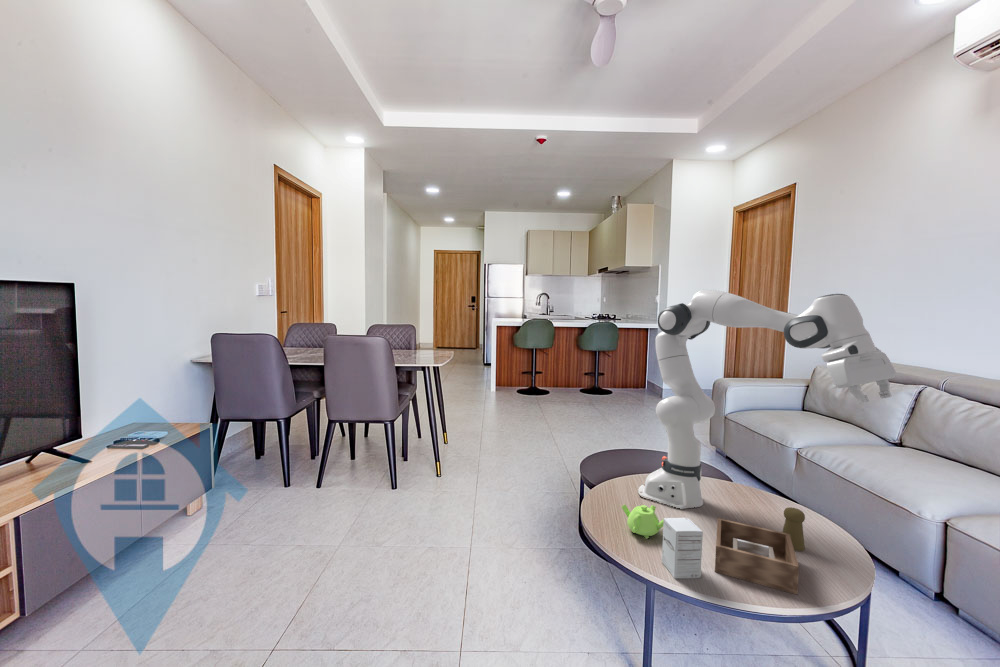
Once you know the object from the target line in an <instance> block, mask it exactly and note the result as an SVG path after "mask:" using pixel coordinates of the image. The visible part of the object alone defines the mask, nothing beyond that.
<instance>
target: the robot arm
mask: <svg viewBox="0 0 1000 667" xmlns="http://www.w3.org/2000/svg"><path fill="white" fill-rule="evenodd" d="M690 299H691V300H690V302H689V303H688V304H686V303H683V302H681V303H678V304H674V305H670V306H668V307H665V308H664V309H662V310H661V311H660V312H659V313H658V316H657V325H658V327H659V329H660V330H661V332H658V334H656V336H655V341H654V342H655V352H656V359H657V363H658V367H659V371H660V377H661V380H662V383H664V384H665V385H667V386H668V387H669V388H670V390H671V391H672V393H673V395H672V396H670V395H669V396H668V397H666V398H663V399H661V400H660V401H659V402H658V403H657V404H656V407H655V414H656V415H655V416H656V418H657V419H658V421H659V422H660V424H661V425H663V427H664V430H665V433H666V437H667V456H665V455H663V456H662V458H661V467H660V468H658V469H657V470H654V471H652V472H650V473H649V474H648V475H647V476H646V478H645V482H644V484H645V486H644V485H643V484H642V485H640V486H639V487H638V492H637V494H638V493H639V494H640V495H641V496H643V497H646V498H649V499H652V500H654V501H657V502H661V503H664V504H667V505H670V506H669V507H671V506H673V507H672V508H674V507H676V508H675V509H677V508H680V509H679V510H685V509H690V508H691V509H693V508H694V507H695V508H699V507H702V506H703V505H704V499H703V496H702V495H703V494H702V489H701V478H702V464H701V450H702V448H701V447H702V445H701V442H700V440H699V439H698V438H697V437H696V435H695V431H694V425H696V424H702V423H704V422H707V421H708V420H710V419H711V418H713V417H714V415H715V414H716V405H715V403H714V401H713V399H712V398H711V397H709V396H708V395H707V394H706V393H705V392H704V391H703V389H702V388H701V385H700V384H699V382H698V381H697V378H696V377H695V372H694V371H693V368H692V364H691V360H690V356H689V352H688V349H687V341H688V340H691V341H692V340H694V339H695V338H697V337H698V336H700V335H701V334H703V333H705V332H706V331H707V330H708V329H709V327H710V325H711V323H714V324H716V325H719V326H723V327H729V328H737V329H738V328H764V329H771V330H774V331H777V332H781V333H782V332H783V337H784V339H785V341H786V342H787V343H788V344H789V345H790V346H792V347H794V348H798V349H828V350H826V351H825V352H823V353H822V354H821V358H822V359H821V360H823V362H825V363H826V369H827V371H828V374H829V376H830V378H831V380H832V381H831V382H833V384H834V386H835V387H837V388H838V389H844V388H848V391H849V392H850V394H852V395H853V397H855V399H856V402H857V403H858V404H866V403H869V398H868V396H867V395H866V394H864V393H863V392H862V387H861V385H864V384H869V383H875V382H876V385H877V386H878V388H879V391H878V396H880V398H881V399H887V398H891V397H892V394H891V391H890V384H891V383H890V382H889V379H894V378H896V377H897V372H896V369H895V367H894V366H893V364H892V361H891V360H890V359H889V357H888V355H887V354H886V353H885V352H883V351H882V350H881V349H879V348H878V347H876V345H875V343H874V341H873V339H872V337H871V335H870V332H869V331H868V330H867V329H866V328H865V325H864V320H863V316H862V315H861V312H860V310H859V308H858V307H857V305H856V303H855V302H854V300H853V299H852V298H851V297H850V295H847V294H843V293H832V294H831V293H830V294H827V295H821V296H818V297H817V298H814V300H813V302H812V303H811V305H809V307H808V308H806V309H805V310H804V311H803V312H802V313H800V314H794V313H791V312H786V311H782V310H777V309H774V308H771V307H767V306H766V305H762V304H760V303H758V302H755V301H753V300H750V299H748V298H745V297H743V296H740V295H738V294H734V293H730V292H725V291H720V290H716V289H715V290H714V289H713V290H712V289H700V290H699V291H697V292H696V293H694V294H693V296H692V298H690ZM640 492H642V493H640ZM654 501H653V502H654ZM657 502H656V503H657ZM661 503H660V504H661ZM664 504H663V505H664ZM667 505H666V506H667Z"/></svg>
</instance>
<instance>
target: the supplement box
mask: <svg viewBox="0 0 1000 667" xmlns="http://www.w3.org/2000/svg"><path fill="white" fill-rule="evenodd" d="M663 519H664V524H663V527H662V528H663V529H662V545H661V546H662V547H661V563H662V564H663V566H664V567H665V568H666V569H667V570H668V572H669V573H670V574H671V576H672V577H673V578H674V579H700V578H701V576H702V575H701V574H702V571H701V570H702V558H703V556H702V554H703V553H702V552H703V537H704V536H703V535H704V532H703V530H702V529H701V528H700V527H699V526H698V525H696V523H694V522H693V521H692V520H691V519H690V518H689V517H664V518H663Z"/></svg>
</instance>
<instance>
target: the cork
mask: <svg viewBox="0 0 1000 667" xmlns="http://www.w3.org/2000/svg"><path fill="white" fill-rule="evenodd" d="M805 516H806V514H805V513H804V511H802V510H801V509H799V508H795V507H792V506H791V507H786V508H785V509H783V517H784V518H785V520H784V524H783V529H782V533H787V534H790V537H791V541H792V544H793V548H794V551H796V552H803V551H805V549H806V548H805V538H804V537H805V536H804V527H803V523H804V522H805V520H806V517H805Z"/></svg>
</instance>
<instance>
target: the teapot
mask: <svg viewBox="0 0 1000 667" xmlns="http://www.w3.org/2000/svg"><path fill="white" fill-rule="evenodd" d="M620 507H621V509H622V510H623V512H624V514H625V516H626V517H627V520H626V522H627V523H626V524H627V526H628V527H629V530H631V531H632V532H633V533H636V535H640V536H642V537H643V536H644V537H645V538H649V539H650V537H653V536H654V535H656V534H657V533H659V531H660V530H661V529H662V528H663V524H664V518H663V519H662V520H660V521H659V518H658V516H657V514H656V508H657V507H656V506H655V505H652V504H651V505H650V507H648V506H647V505H645V504H641V505H637V506H634V508H633V509H632V510H631V511H630V509H629V508H628V506H627V505H626V504H623V505H622V506H620ZM633 533H632V534H633ZM644 537H643V538H644ZM645 538H644V539H645Z"/></svg>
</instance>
